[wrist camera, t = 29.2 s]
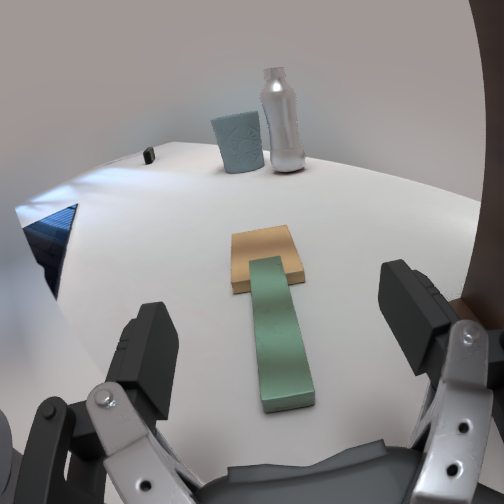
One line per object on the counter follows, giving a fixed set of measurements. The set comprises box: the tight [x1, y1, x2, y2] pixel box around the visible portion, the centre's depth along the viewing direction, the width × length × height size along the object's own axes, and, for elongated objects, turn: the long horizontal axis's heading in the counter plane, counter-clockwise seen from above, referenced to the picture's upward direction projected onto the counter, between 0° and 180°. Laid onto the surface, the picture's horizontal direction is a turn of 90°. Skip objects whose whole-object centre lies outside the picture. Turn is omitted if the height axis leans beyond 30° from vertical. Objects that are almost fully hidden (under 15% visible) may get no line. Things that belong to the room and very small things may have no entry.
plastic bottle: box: [260, 67, 305, 172], centre depth 50 cm, size 6×7×20 cm
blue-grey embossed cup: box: [211, 111, 264, 173], centre depth 60 cm, size 10×10×12 cm
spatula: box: [231, 225, 315, 413], centre depth 23 cm, size 20×6×2 cm, turn 3°
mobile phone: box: [143, 147, 155, 164], centre depth 102 cm, size 5×3×15 cm
